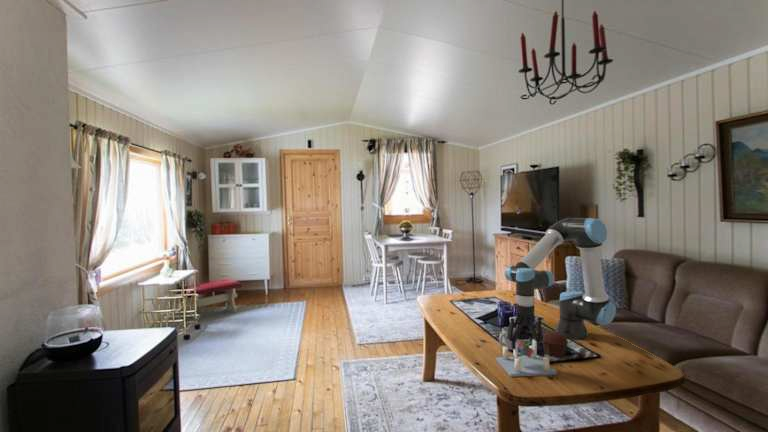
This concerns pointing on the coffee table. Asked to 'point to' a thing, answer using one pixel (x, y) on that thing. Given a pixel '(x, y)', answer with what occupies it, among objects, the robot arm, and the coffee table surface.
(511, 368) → the peg board
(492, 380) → the coffee table surface
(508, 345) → the cup
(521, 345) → the geometric puzzle
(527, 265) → the robot arm
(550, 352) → the muffin
